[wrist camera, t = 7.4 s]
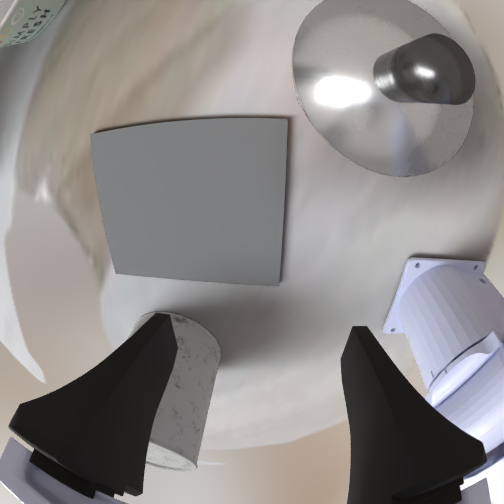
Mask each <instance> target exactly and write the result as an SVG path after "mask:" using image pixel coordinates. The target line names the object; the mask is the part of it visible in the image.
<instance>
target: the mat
mask: <svg viewBox="0 0 504 504" xmlns="http://www.w3.org/2000/svg"><path fill="white" fill-rule="evenodd" d="M287 128H288V119H276V118H216V119H197V120H183V121H172V122H163V123H154V124H146V125H139V126H132V127H126V128H120V129H114V130H109V131H104V132H99V133H94V134H90V137H91V148H92V157H93V165H94V173H95V180H96V186H97V192H98V198H99V204H100V209H101V214H102V219H103V224H104V229H105V233H106V237H107V242H108V246H109V250H110V254H111V258H112V261H113V265H114V269H115V272H116V274H125V275H135V276H145V277H156V278H167V279H179V280H191V281H204V282H218V283H233V284H249V285H267V286H279V279H280V266H281V251H282V236H283V220H284V201H285V181H286V158H287Z"/></svg>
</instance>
